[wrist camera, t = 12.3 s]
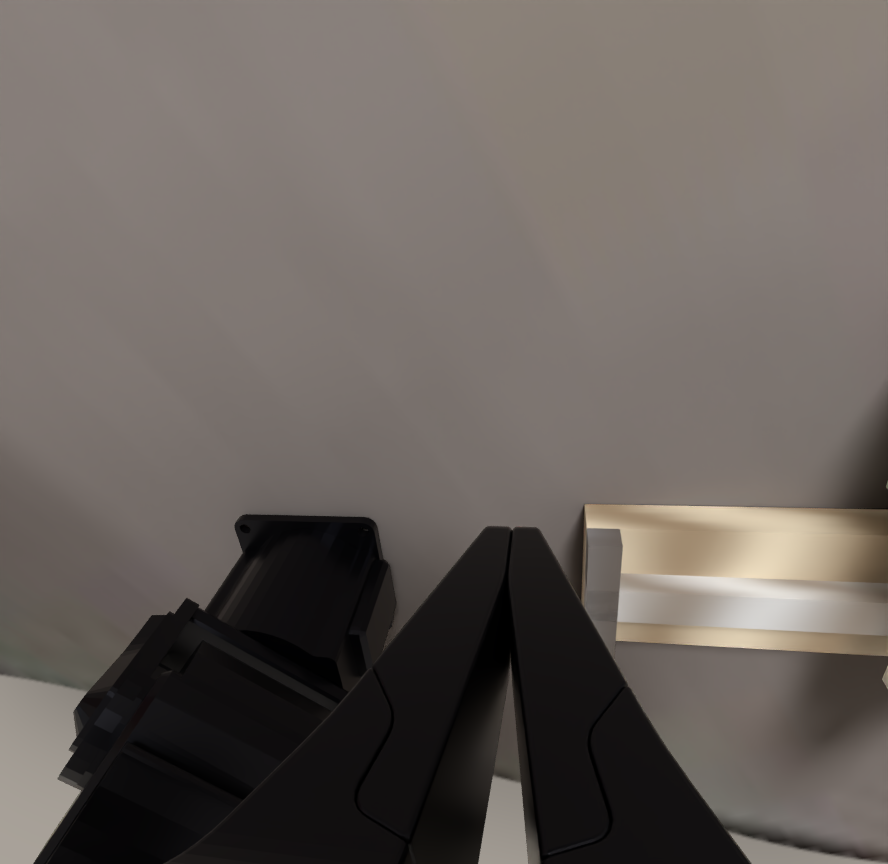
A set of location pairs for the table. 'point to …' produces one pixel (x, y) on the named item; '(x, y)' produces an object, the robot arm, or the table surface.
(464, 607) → the robot arm
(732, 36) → the table surface
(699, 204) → the table surface
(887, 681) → the carriage
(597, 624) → the rail
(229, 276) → the table surface
